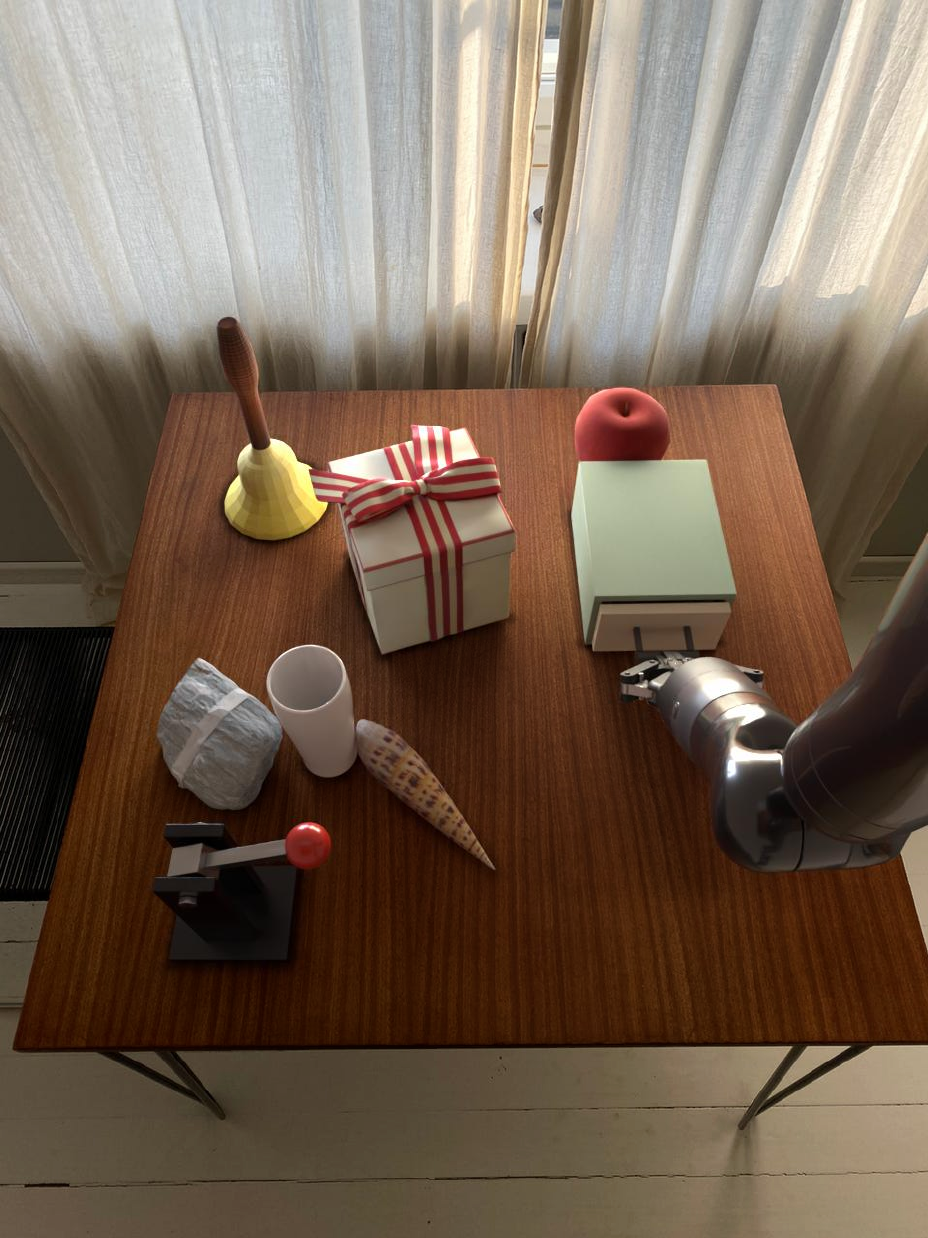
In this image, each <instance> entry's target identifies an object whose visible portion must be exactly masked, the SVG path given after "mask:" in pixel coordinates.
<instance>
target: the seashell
mask: <svg viewBox="0 0 928 1238" xmlns="http://www.w3.org/2000/svg"><path fill="white" fill-rule="evenodd" d="M355 738H356V746H357V755H358V756H359V758H360V760H361V761H362V763H363V765H364V766H365V768H366V769H367V770H368V771H369V773H370V774H371V775H372V776H373V777H374V778H375V779H376V780H377V781H378V782H379V783H380V784H382V786H384V787H385V788H387V789H388V790H389V791H391V792H392V794H394V795H395V796H396V797H397V798H398V799H399V800H400V801H402V802H403V803H404V804H406V805H407V806H408V807H409V808H411V809H413V811H415V813H417V814H418V815H419V816H421V818H423V819H424V820H426V821H427V822H428V823H430V824H431V825H432V826H433V827H434V828H435V829H436V830H438V831H439V832H440V833H441V834H443V835H445V837H447V838H448V839H449V840H451V841H452V842H453V843H456V844H457V846H460V847H461V848H462V849H464V850H465V851H467V852H468V853H469V854H471V855H473V856H474V857H475V858H476V859H478V860H479V861H481V862H482V863H483V864H484V865H485V866H488V867H489V868H491V869H492V870H494V871H496V868H495V866H494V865H493V863H492V862H491V860H490V858H489V857H488V855H487V853H486V851H485V850H484V849H483V847H482V846H481V844H480V842H479V840H478V838H477V837H476V835H475V834H474V832H473V830H472V828H471V827H470V825H469V824H468V823H467V821H466V819H465V818H464V816H463V814H461V812H460V811H459V809H458V807H457V806H456V803H455V802H454V800H453V799H452V798H451V797H450V795H449V794H448V793H447V792H446V790H445V788H444V787H443V785H442V784H441V783H440V781H439V780H438V778H437V777H436V776H435V774H434V773H433V772H432V771H431V768H430V767H429V765H428V764H427V762H426V761H425V760H424V759H423V757H421V756H420V755H419V754H418V752H417V751H416V750H414V748H412V747H411V746H410V745H409V744H408V743H407V742H406V740H405V739H403V738H402V736H400V735H399V734H397V733H396V732H395V731H394V730H391V729H389V728H385V726H384V725H382V724H379V723H377V722H375V721H373V720H367V719H364V718H363V719H360V720H358V721H357V724H356V726H355Z"/></svg>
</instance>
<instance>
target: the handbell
mask: <svg viewBox="0 0 928 1238" xmlns="http://www.w3.org/2000/svg"><path fill="white" fill-rule="evenodd" d="M215 329H216V341H217V342H216V343H217V346H216V347H217V355H218V358H219V361H220V366H221V369H222V372H223V376H224V378H225V380H226V382H227V384H228V385H229V386H230V387H231V389H232V391H233V392H234V394H235V396H236V398H237V401H238V404H239V407H240V411H241V414H242V417H243V421H244V426H245V429H246V431H247V435H248V439H249V442H250V443H248V445H246V446H245V447H244V448H243V449H242V451H241V452H240V453H239V456H238V459H237V472H238V476H237V477H235V479H234V480H233V481H232V483H231V484H230V486H229V488H228V490H227V492H226V496H225V499H224V513H225V516H226V518H227V519H228V521H229V523H230V525H231V526H232V527H234V528H235V529H236V530H237V531H238V532H240V533H241V534H242V535H245V536H247V537H251V538H253V539H256V540H267V541H278V540H283V539H289V538H293V537H294V536H296V535H297V536H298V535H299V534H301V533H304V532H307V530H308V529H310V528H311V527H312V526H313V525H315V524H316V523H318V522H319V520H320V519H321V518H322V516H323V515H324V513H325V511H326V510H327V507H328V504H329V503H328V502H320V501H318V500H317V499H316V497H315V494H314V490H313V485H312V483H311V478H310V475H309V471H308V469H313V468H312V467H311V466H310V465H308V464H305V463H303V462H300V461H298V460H297V457H296V455H295V453H294V451H293V450H292V448H291V447H290V446H289V445H288V444H286V443H285V442H284V441H281V440H278V439H276V438H275V439H274V438H271V436H270V432H269V429H268V425H267V421H266V417H265V414H264V410H263V406H262V403H261V399H260V395H259V389H258V385H259V378H260V375H259V367H258V362H257V359H256V356H255V352H254V348H253V344H252V343H251V341H250V339H249V337H248V336H247V333H246V332H245V330H244V327H243V325H242V323H241V322H240V321H239V320H238V318H235V317H233V316H225V317H222V318H221V319H220V320H218V322H217V324H216V326H215Z"/></svg>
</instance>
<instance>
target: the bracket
mask: <svg viewBox="0 0 928 1238" xmlns="http://www.w3.org/2000/svg"><path fill="white" fill-rule="evenodd" d="M162 837H163V839H164V840H165V841H166V842H167V843H168V844H169V845H170V846H171V848H172V849H173V848H177V847H183V846H188V845H194V844H199V843H203V844H205V845H207V846H209V847H212V848H214V849H216V850H218V851H221V850H227V849H233V848H239V847H240V846H239V844H238V843H237V841H236V840H235V838H234V837H233V836H232V834H231V832H230V831H229V830H228V828H227V827H226V825H225V824H224V823H207V822H194V823H165V825H164V829H163V834H162ZM299 876H300V868H298V867H296V866H294V865H248V866H242V867H236V868H229V869H223V870H220V871H219V877H218V880H217V879H216V878H168V877H154V879H153V883H152V888H151V892H152V893H153V894H154V895H155V896H156V897H157V898H158V899H159V900H161V901H162V903H163V904H164V905H165V906H167V907H168V908H169V909H170V910H171V911H172V912H173V913H174V914H175V920H174V926H173V932H172V938H171V944H170V948H169V953H168V961H170V962H171V963H173V964H188V963H190V964H230V963H231V964H289V963H290V958H291V951H292V950H291V949H292V942H293V941H292V939H293V930H294V922H295V921H294V920H295V913H296V902H297V895H298V894H297V893H298V884H299Z"/></svg>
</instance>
